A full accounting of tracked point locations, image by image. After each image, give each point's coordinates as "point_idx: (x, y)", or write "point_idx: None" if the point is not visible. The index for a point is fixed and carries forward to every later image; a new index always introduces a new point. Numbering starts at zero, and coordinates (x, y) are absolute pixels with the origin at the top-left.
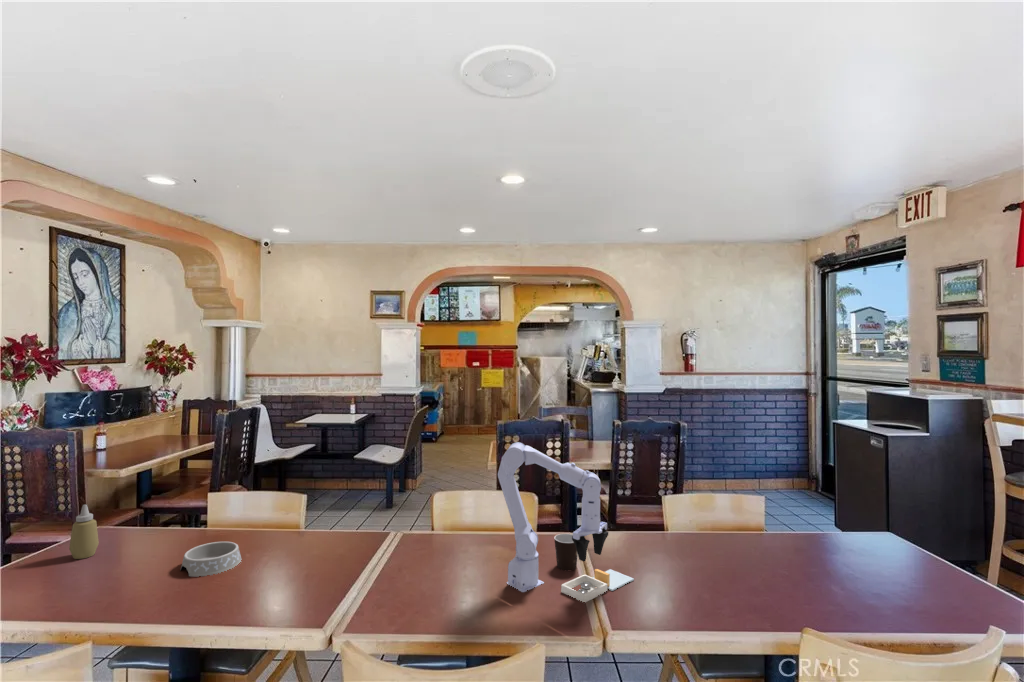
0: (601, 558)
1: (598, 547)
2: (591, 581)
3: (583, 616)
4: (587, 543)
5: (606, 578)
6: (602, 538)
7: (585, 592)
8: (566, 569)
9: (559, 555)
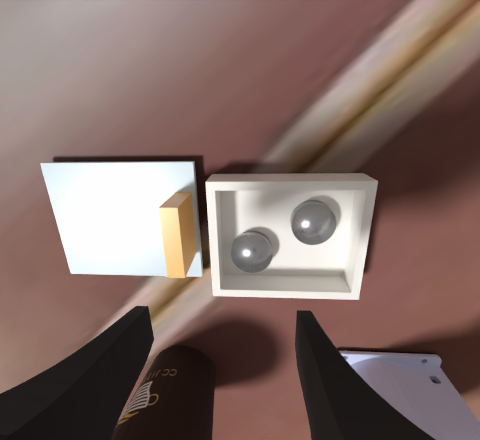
0: (36, 342)
1: (126, 352)
2: (220, 252)
3: (457, 107)
4: (370, 433)
5: (182, 206)
6: (61, 405)
7: (312, 212)
8: (205, 362)
9: (212, 425)
